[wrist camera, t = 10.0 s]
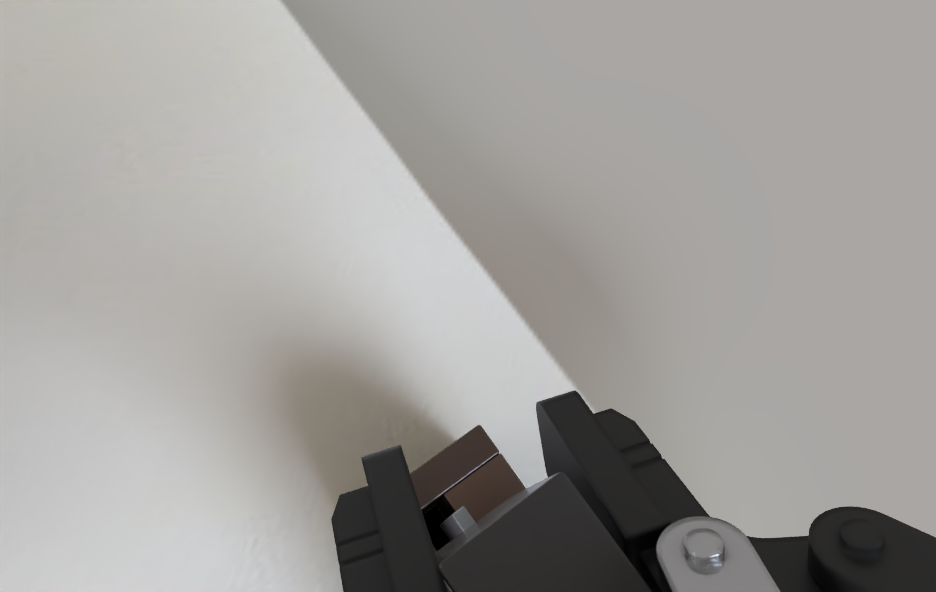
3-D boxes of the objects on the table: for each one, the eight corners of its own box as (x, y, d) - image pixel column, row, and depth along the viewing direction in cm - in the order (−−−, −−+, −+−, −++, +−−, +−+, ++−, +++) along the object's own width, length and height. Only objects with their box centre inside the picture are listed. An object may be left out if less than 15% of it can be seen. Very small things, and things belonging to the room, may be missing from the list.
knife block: (566, 592, 27) (609, 604, 21) (448, 687, 26) (460, 727, 20) (465, 448, 28) (479, 423, 22) (347, 533, 27) (332, 529, 21)
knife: (530, 587, 23) (694, 644, 10) (475, 631, 22) (565, 756, 9) (470, 501, 23) (544, 443, 10) (415, 542, 23) (418, 537, 10)
